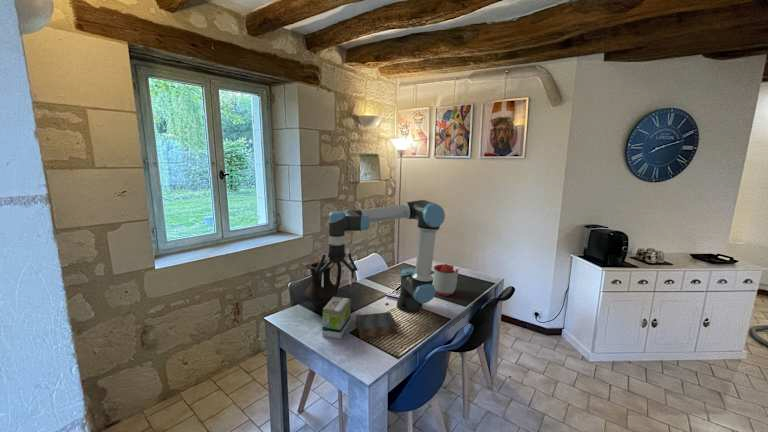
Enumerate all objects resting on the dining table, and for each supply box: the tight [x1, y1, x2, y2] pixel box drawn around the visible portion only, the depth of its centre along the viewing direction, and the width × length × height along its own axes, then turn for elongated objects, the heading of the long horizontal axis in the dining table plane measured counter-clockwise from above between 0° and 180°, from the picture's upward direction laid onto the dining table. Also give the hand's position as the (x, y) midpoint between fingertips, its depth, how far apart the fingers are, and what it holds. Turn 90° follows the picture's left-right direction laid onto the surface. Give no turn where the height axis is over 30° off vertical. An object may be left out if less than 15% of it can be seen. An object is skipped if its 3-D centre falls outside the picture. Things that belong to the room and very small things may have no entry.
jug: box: [304, 259, 342, 313], centre depth 182 cm, size 21×18×30 cm
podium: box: [355, 311, 399, 339], centre depth 164 cm, size 19×15×4 cm
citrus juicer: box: [433, 263, 460, 297], centre depth 209 cm, size 16×17×20 cm
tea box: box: [321, 296, 352, 340], centre depth 161 cm, size 15×10×15 cm, turn 168°
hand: (336, 285), depth 158 cm, fingers open, 13 cm apart
